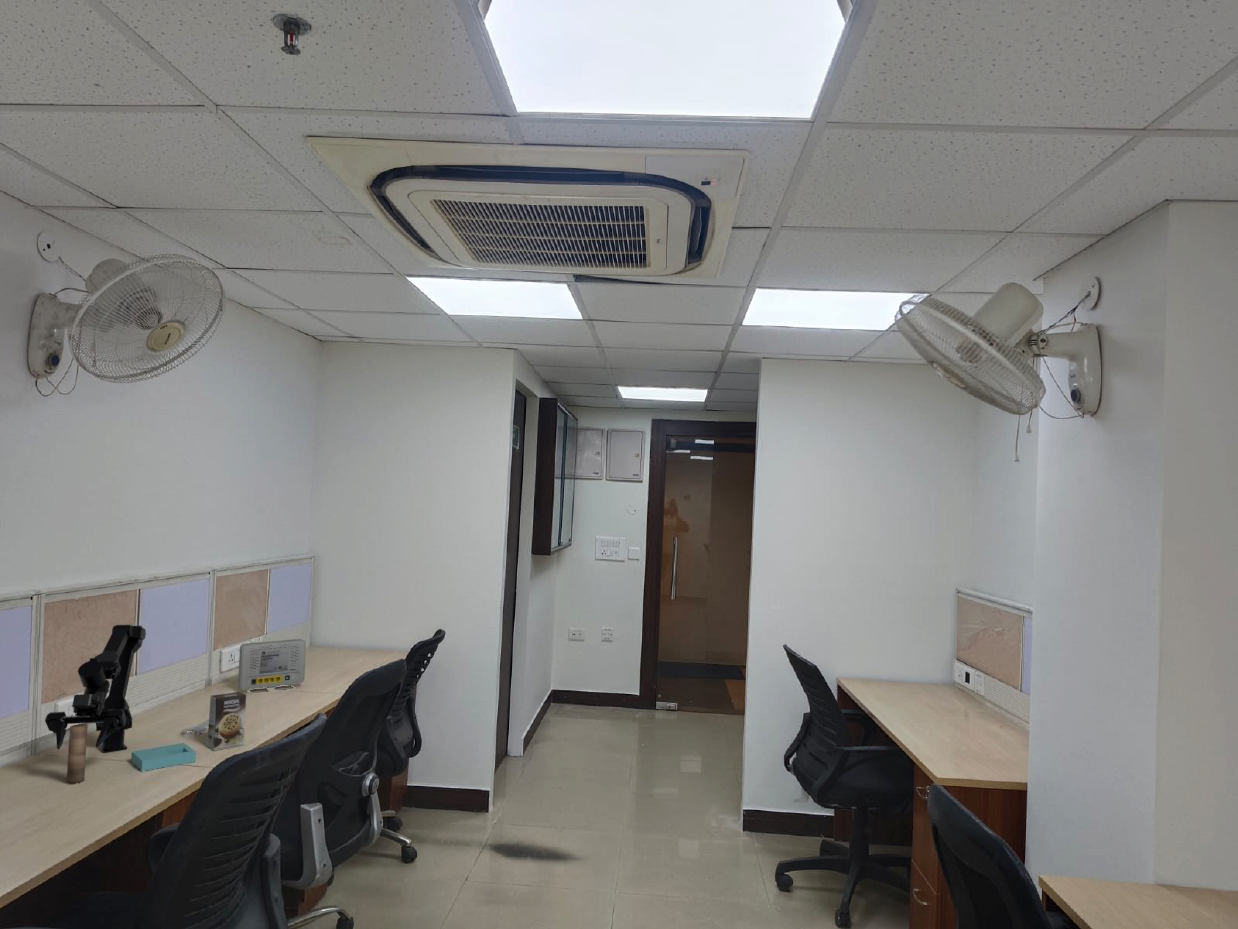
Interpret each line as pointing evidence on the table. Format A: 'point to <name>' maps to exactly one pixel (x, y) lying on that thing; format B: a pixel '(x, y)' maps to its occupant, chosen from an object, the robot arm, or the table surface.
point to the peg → (77, 753)
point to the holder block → (163, 756)
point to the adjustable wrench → (197, 728)
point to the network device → (271, 663)
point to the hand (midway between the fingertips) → (77, 747)
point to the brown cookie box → (226, 721)
